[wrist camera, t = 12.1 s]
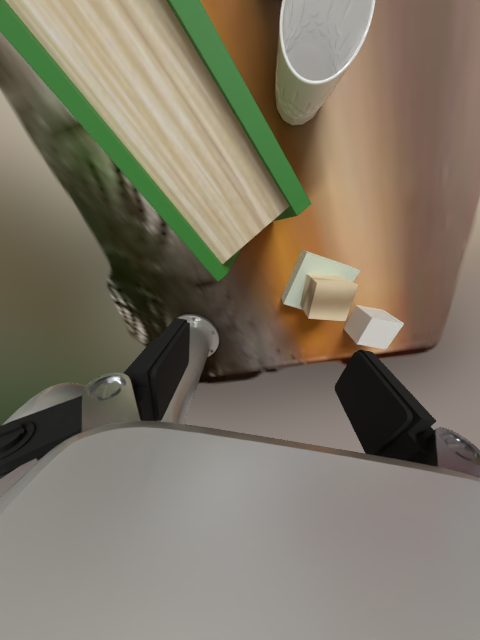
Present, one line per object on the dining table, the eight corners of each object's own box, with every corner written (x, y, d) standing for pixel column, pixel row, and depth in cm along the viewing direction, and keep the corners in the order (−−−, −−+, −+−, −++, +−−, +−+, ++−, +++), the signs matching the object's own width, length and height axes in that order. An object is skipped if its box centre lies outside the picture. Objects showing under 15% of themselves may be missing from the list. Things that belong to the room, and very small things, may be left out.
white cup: (265, 61, 23) (272, -39, 14) (329, 32, 22) (380, -99, 13) (275, 140, 27) (286, 98, 18) (331, 119, 25) (372, 63, 16)
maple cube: (331, 306, 34) (345, 321, 29) (300, 304, 35) (308, 318, 29) (341, 275, 32) (358, 285, 26) (306, 273, 32) (317, 282, 27)
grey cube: (369, 333, 41) (386, 349, 35) (343, 328, 41) (356, 344, 35) (383, 309, 38) (404, 323, 33) (355, 304, 38) (372, 317, 32)
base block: (323, 310, 39) (330, 318, 36) (280, 296, 38) (283, 303, 35) (349, 265, 35) (360, 270, 31) (301, 249, 34) (307, 252, 30)
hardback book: (273, 218, 31) (311, 203, 10) (240, 246, 34) (217, 281, 13) (203, 109, 26) (-34, -425, 5) (170, 153, 28) (-78, -59, 7)
